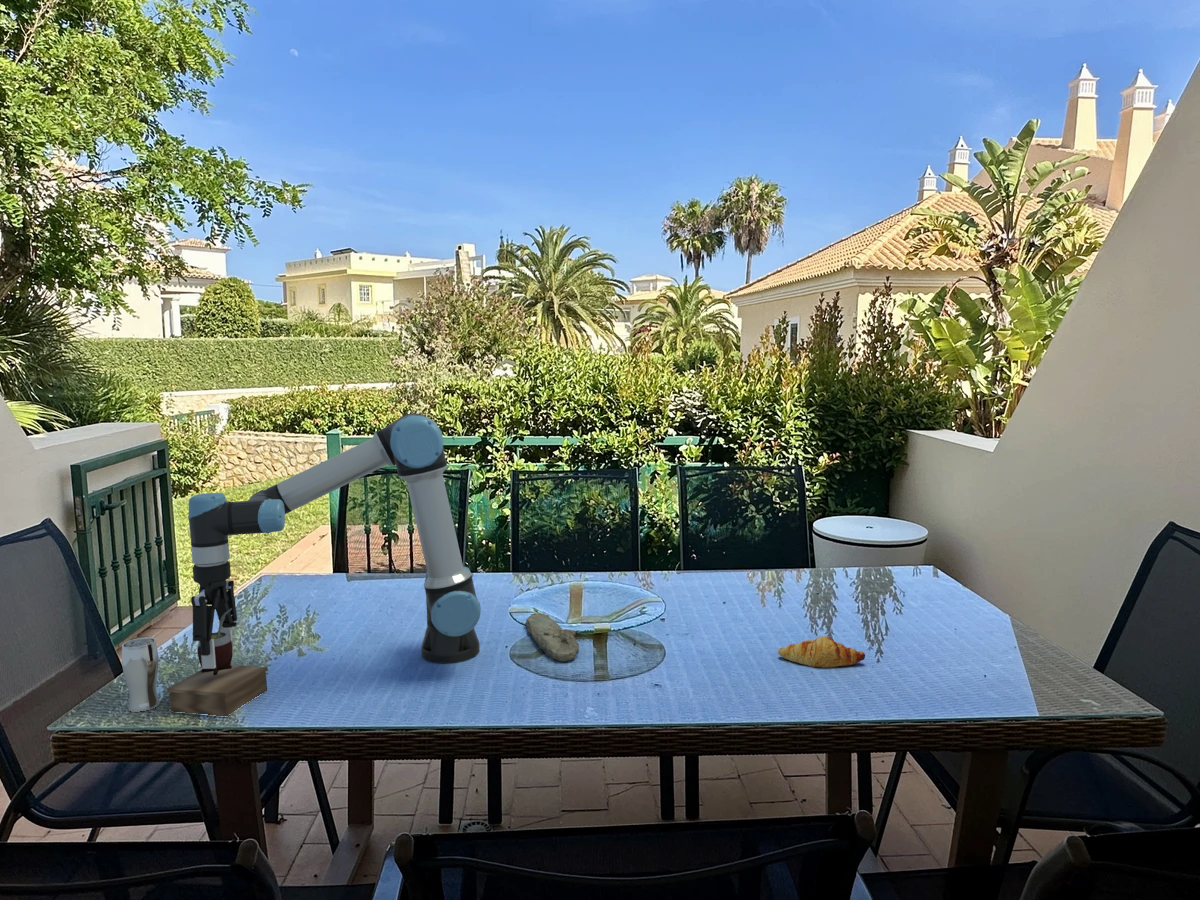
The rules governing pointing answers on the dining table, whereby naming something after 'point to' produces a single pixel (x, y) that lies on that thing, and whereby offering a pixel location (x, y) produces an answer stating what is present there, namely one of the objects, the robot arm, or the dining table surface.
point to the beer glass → (141, 673)
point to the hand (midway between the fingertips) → (218, 661)
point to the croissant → (821, 653)
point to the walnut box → (218, 690)
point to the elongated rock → (552, 637)
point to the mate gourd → (220, 649)
